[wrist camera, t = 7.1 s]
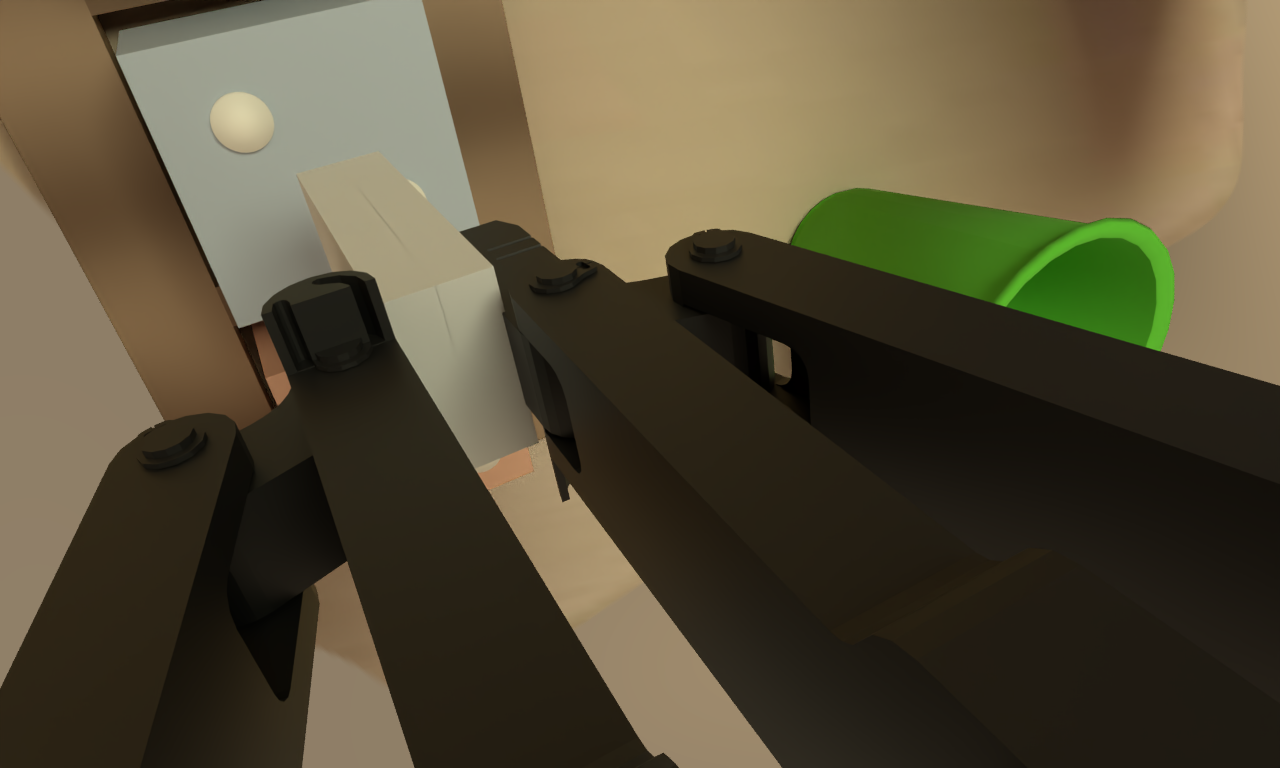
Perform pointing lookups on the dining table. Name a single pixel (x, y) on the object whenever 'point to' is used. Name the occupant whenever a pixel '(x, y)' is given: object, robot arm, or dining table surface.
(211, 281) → the board
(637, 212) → the dining table surface
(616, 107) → the dining table surface
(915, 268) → the cup
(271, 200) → the grey block
